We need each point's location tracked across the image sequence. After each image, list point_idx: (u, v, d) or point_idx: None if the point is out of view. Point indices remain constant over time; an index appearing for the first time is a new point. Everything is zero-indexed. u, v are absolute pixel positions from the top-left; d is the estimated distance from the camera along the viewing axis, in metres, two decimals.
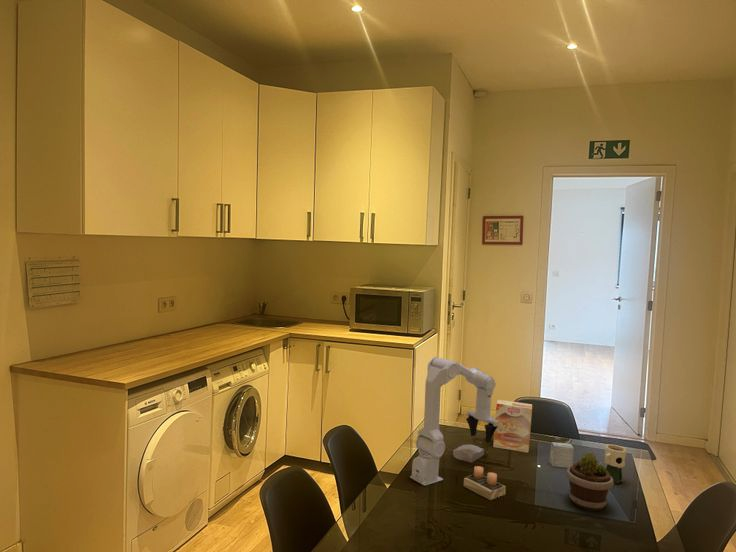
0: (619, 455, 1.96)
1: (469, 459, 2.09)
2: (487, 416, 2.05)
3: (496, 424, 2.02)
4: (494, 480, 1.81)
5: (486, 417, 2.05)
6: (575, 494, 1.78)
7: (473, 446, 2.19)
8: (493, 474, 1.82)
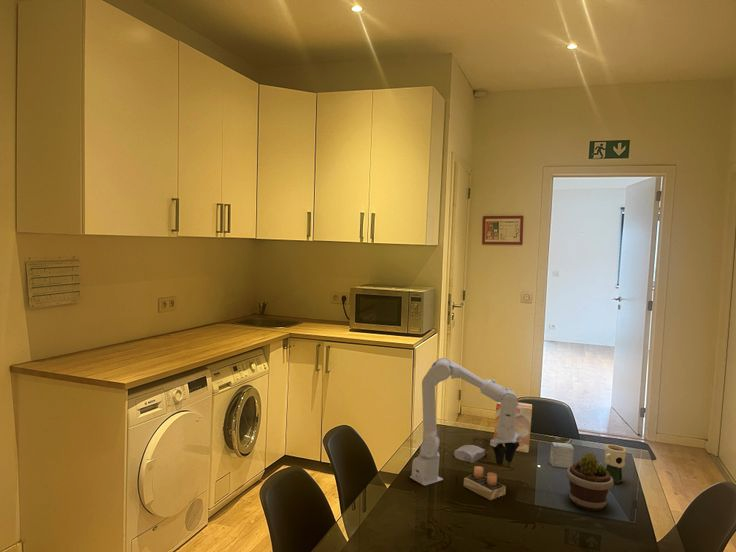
0: (619, 455, 1.96)
1: (470, 459, 2.09)
2: (500, 436, 1.84)
3: (491, 443, 1.81)
4: (494, 480, 1.81)
5: (499, 436, 1.84)
6: (575, 494, 1.78)
7: (474, 446, 2.18)
8: (493, 474, 1.82)
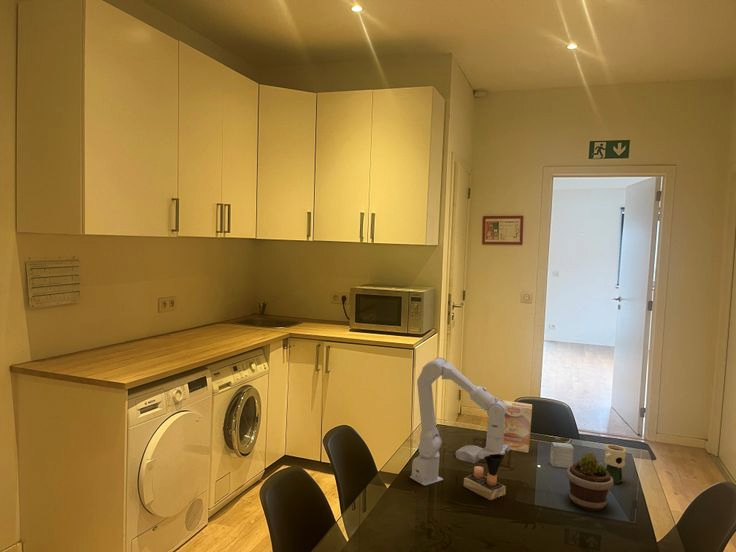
0: (619, 455, 1.96)
1: (472, 460, 2.09)
2: (488, 447, 1.80)
3: (479, 455, 1.78)
4: (494, 480, 1.81)
5: (487, 448, 1.81)
6: (575, 494, 1.78)
7: (475, 447, 2.18)
8: None
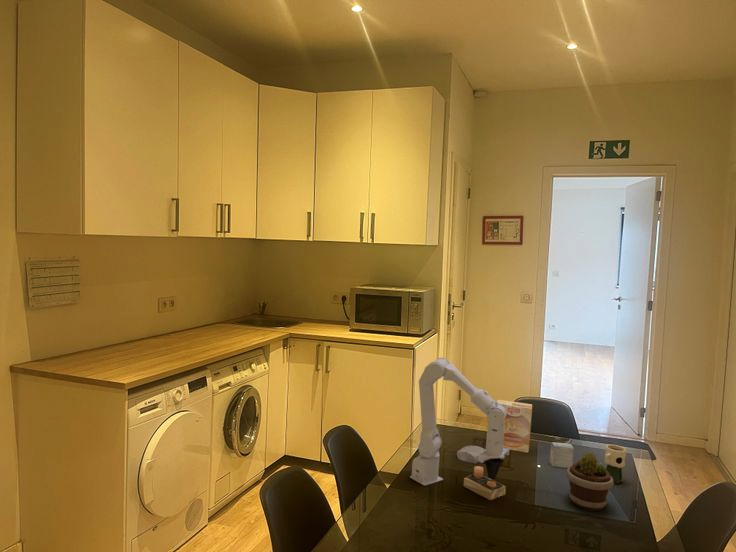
0: (619, 455, 1.96)
1: (473, 460, 2.08)
2: (488, 451, 1.80)
3: (479, 459, 1.78)
4: None
5: (486, 452, 1.81)
6: (575, 494, 1.78)
7: (477, 447, 2.18)
8: (492, 483, 1.82)
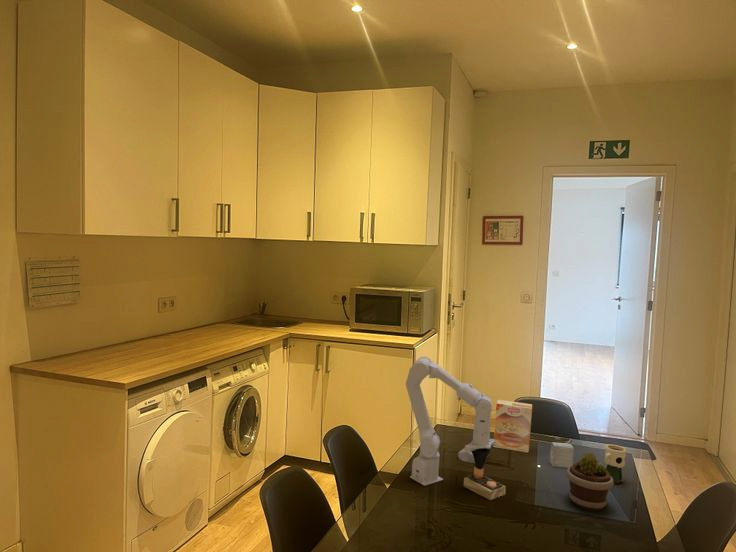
0: (619, 455, 1.96)
1: None
2: (475, 442, 1.85)
3: (466, 449, 1.82)
4: None
5: (474, 442, 1.86)
6: (575, 494, 1.78)
7: None
8: (492, 483, 1.82)
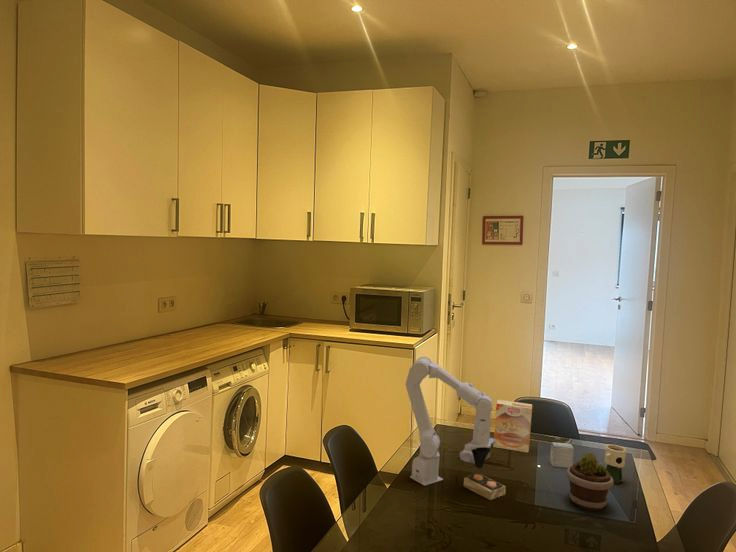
0: (619, 455, 1.96)
1: None
2: (475, 441, 1.85)
3: (466, 448, 1.82)
4: None
5: (473, 441, 1.86)
6: (575, 494, 1.78)
7: None
8: (492, 483, 1.82)
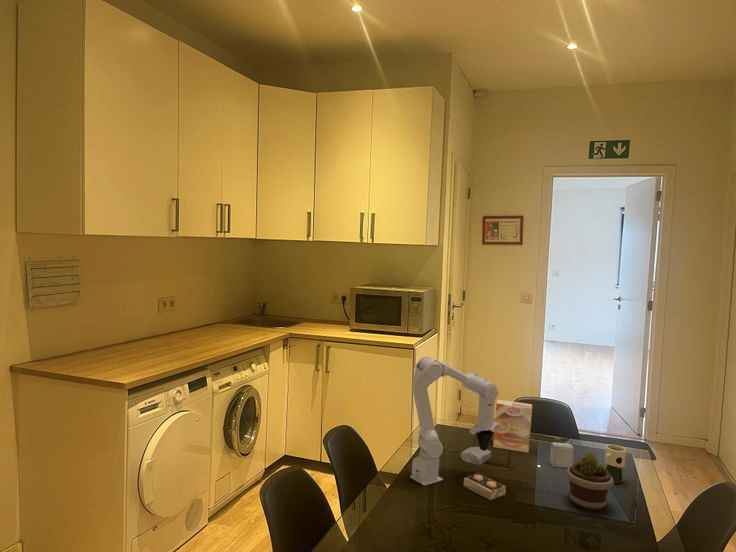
0: (619, 455, 1.96)
1: (477, 462, 2.07)
2: (479, 424, 1.95)
3: (471, 431, 1.92)
4: None
5: (478, 425, 1.96)
6: (575, 494, 1.78)
7: None
8: (492, 483, 1.82)
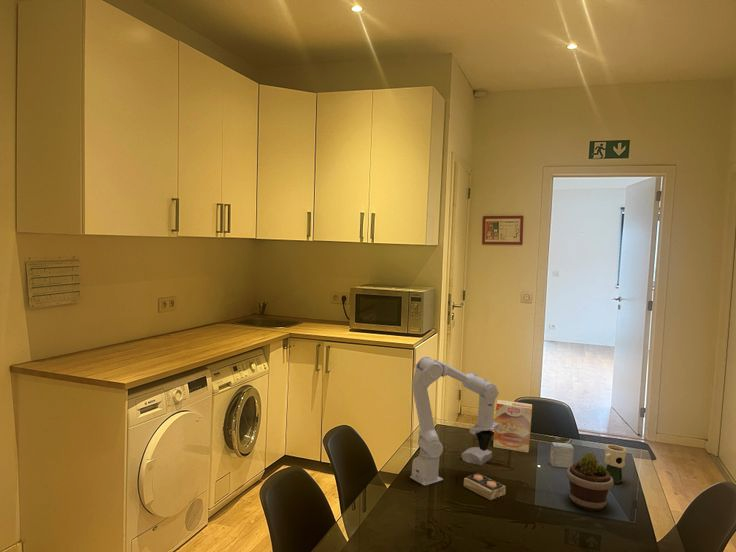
0: (619, 455, 1.96)
1: (478, 462, 2.07)
2: (479, 424, 1.95)
3: (471, 431, 1.92)
4: None
5: (478, 425, 1.96)
6: (575, 494, 1.78)
7: None
8: (492, 483, 1.82)
